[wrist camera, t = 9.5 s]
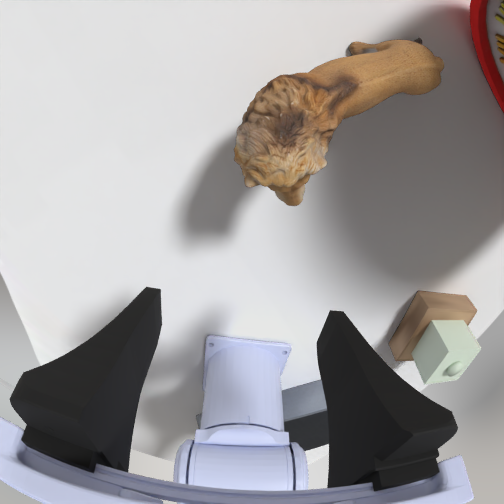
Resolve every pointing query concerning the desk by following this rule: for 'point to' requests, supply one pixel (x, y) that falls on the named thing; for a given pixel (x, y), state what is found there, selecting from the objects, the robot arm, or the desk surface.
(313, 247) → the desk surface
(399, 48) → the lion figurine
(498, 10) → the toy clock
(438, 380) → the sage brick
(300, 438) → the external hard drive
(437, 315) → the base brick
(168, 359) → the desk surface
